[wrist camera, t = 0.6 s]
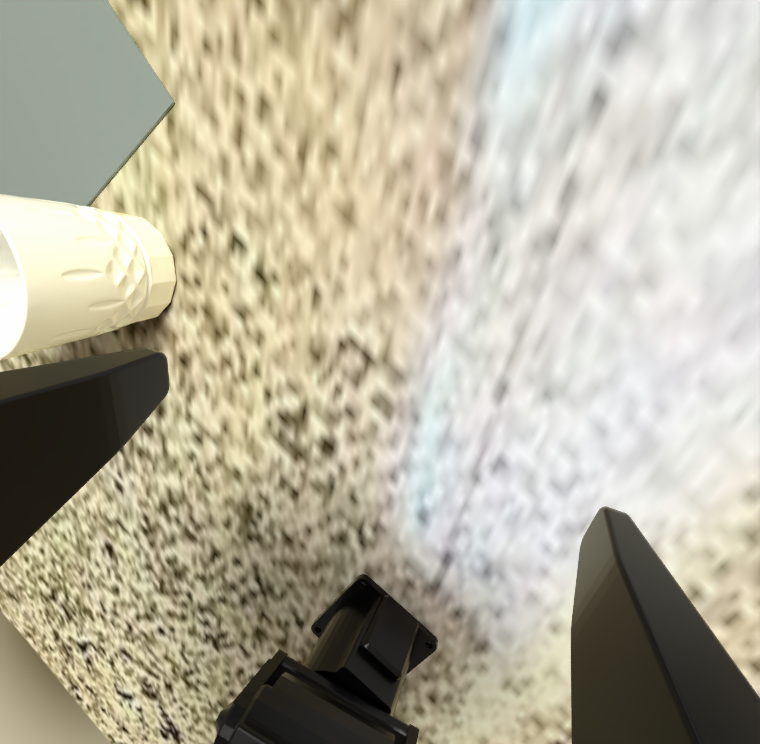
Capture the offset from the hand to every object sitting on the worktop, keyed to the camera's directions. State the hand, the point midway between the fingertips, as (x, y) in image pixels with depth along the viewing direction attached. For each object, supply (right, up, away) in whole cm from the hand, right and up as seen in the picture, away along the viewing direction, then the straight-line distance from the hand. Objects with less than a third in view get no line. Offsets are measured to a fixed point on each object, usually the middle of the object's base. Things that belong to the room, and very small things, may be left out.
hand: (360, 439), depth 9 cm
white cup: (-15, +8, +22) cm, 28 cm away
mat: (-22, +18, +21) cm, 35 cm away
